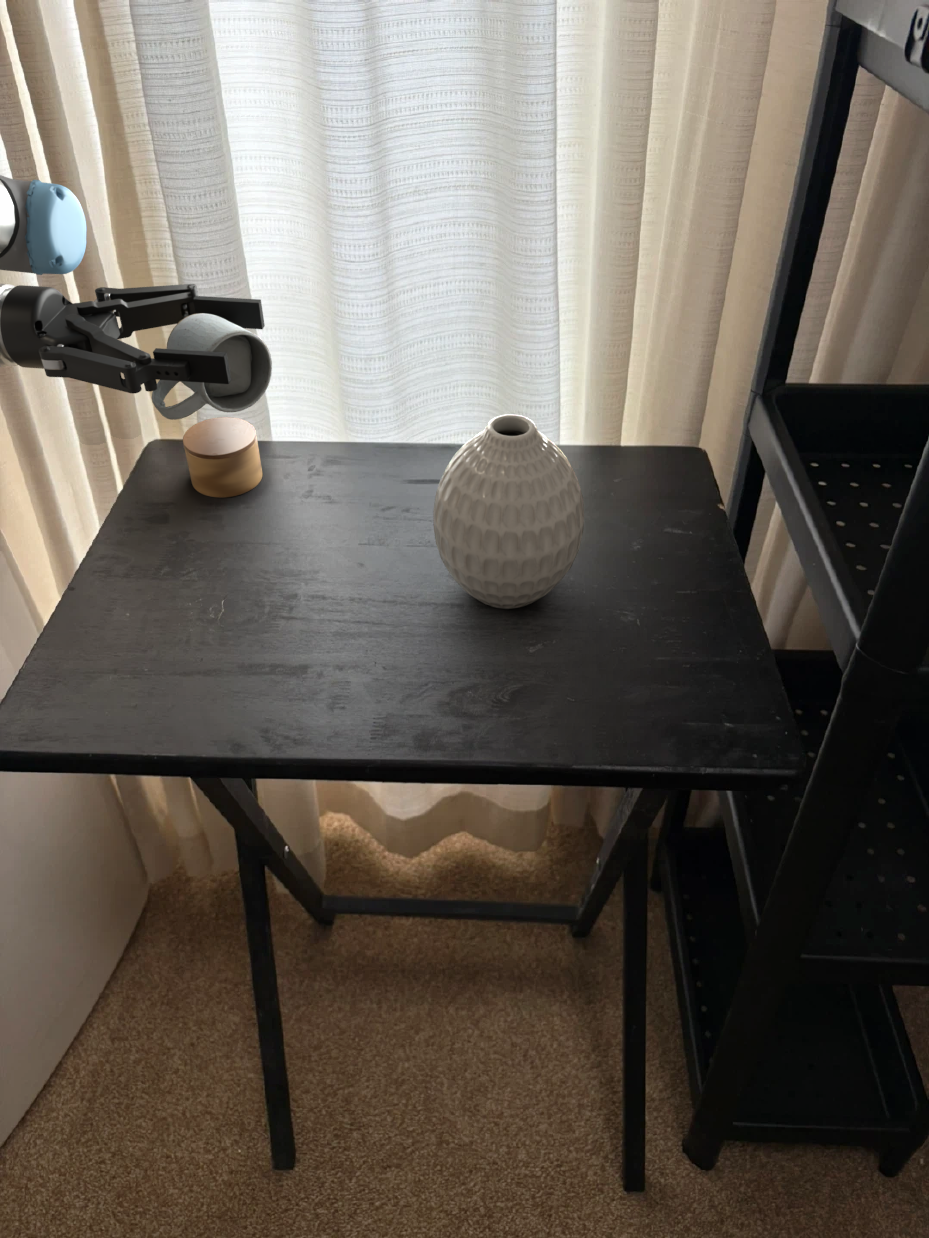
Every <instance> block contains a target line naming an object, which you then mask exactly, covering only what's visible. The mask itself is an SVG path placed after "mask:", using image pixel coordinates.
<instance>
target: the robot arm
mask: <svg viewBox="0 0 929 1238" xmlns="http://www.w3.org/2000/svg"><path fill="white" fill-rule="evenodd" d="M86 248H87V219H86V215H85V212H84V210H83V207H82V205H81V203H80V200H79V199H78V198H77V196H76V195H75V194H74V193H73V192H72V190H71V189H69V188H68V187H66V186H64V185H61V184H60V183H59V184H58V183H51V182H43V181H42V180H40V179H32V180H21V179H14V178H10V177H8V176H4V175H1V174H0V271H6V272H16V273H17V272H18V273H28V274H33V275H34V274H35V275H38V276H42V275H67V274H70V273H72V272H73V271H75V269H77V268H78V267H79V266H80V264H81V263H82V260H83V259H84V255H85V252H86ZM94 294H95V298H96V299H95V300H88V301H81V302H75V303H73V302H71V301H69V299H67V298H66V297H65V295H64V294H63V293H62V292H61V291H60V290H58V289H57V288H54V287H52V286H41V285H40V286H39V285H25V284H24V285H23V284H20V285H19V284H18V285H14V284H9V283H0V368H5V367H17V366H18V367H21V368H27V369H43V370H44V372H45V376H46V377H48V378H65V379H67V378H68V379H71V380H72V379H73V380H77V381H79V382H84V383H88V384H92V385H96V386H101V387H103V388H109V389H111V390H112V389H113V390H116V391H120V392H124V393H128V394H138V393H140V392H141V391H142V390H143V388H142V385H143V386H144V390H145V392H153V391H155V390H156V389H157V388H158V387H157V383H158V381H159V380H171V381H186V382H201V383H216V384H229V383H230V382H231V375H230V369H229V363H228V358H227V353H224V352H208V351H193V350H177V349H166V348H159V347H155V348H154V350H153V351H152V355H153V357H151V354H150V353H149V352H147V351H144V350H142V349H140V348H137V347H136V346H133V345H131V344H128V343H127V342H124V341H122V339H126V338H130V337H131V336H132V335H133V333H134V332H138V331H143V330H144V331H145V330H149V329H150V330H151V329H155V328H161V327H166V326H167V327H168V326H172V325H177V324H178V323H179V321H181V320H182V319H184V318H185V317H187V316H190V315H193V314H199V313H205V314H212V315H216V316H219V317H221V318H224V319H226V320H227V321H229V322H231V323H233V324H236V325H238V326H240V327H242V328H244V329H246V330H249V329H250V330H263V329H264V328H265V325H266V324H265V319H264V312H263V306H262V305H263V304H262V299H259V298H240V297H224V296H223V297H222V296H206V295H199V290H198V285H197V284H195V283H184V284H182V283H181V284H172V285H171V284H170V285H169V284H167V285H155V286H153V285H152V286H140V287H139V286H137V287H123V288H117V287H107V286H106V287H105V286H104V287H103V286H100V287H97V288H95V290H94ZM118 318H119V322H120V325H119V322H118ZM122 374H123V377H122ZM157 380H158V381H157Z"/></svg>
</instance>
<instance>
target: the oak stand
mask: <svg viewBox="0 0 929 1238" xmlns="http://www.w3.org/2000/svg"><path fill="white" fill-rule="evenodd" d="M182 443H183V448H184V453H185V459H186V462H187V463H186V464H187V468H188V471H189V477H190V480H191V484H192V487H193V488H194V489H195V491H197V492H198V493H200V494H201V495H204V496H207V497H212V498H231V497H236V496H240V495H243V494H245V493H247V492H250V491H251V490H253V489H255V487H257V486H258V485H259V484H260V482H261V481H262V478H263V468H262V461H261V454H260V448H259V442H258V437H257V430H256V428H255V426H254V425H253V424H252V423H250V421H248V420H246V419H242V418H239V417H235V416H234V417H233V416H218V417H211V418H207V419H204V420H202V421H199V422H196V423H195V424H193V425H191V426H190V427H189V428H188V429H187V430H186V431H185V433H184V434H183V437H182Z"/></svg>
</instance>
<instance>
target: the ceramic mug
mask: <svg viewBox="0 0 929 1238" xmlns="http://www.w3.org/2000/svg"><path fill="white" fill-rule="evenodd" d="M166 341H167V342H166V348H165V349H177V350H193V351H208V352H224V353H227V358H228V363H229V369H230V375H231V382H230V383H229V384H216V383H201V382H186V381H171V380H158V381H157V387H158V388H157V389H156V390H155V391H151V392H152V393H151V401H152V405H153V406H154V408H155V409H156V410H157V411H158V413H160V415H161V417H164V418H165V419H167V420H170V421H171V420H172V421H173V420H175V421H177V420H181V419H185V418H188V417H190V416H192V414H194V413H196V412H198V411H199V410H200V409H202V408H203V407H204V406H205V405H209V406H210V407H211V408H213V409H216V410H217V411H219V412H223V413H238V412H241V411H245V410H246V409H249V408H251V407H252V406H255V404H256V403H258V401H260V399H261V398H262V397H263V395H264V394H265V393H266V391H267V389H268V387H269V385H270V382H271V378H272V375H273V374H272V373H273V361H272V356H271V352H270V349H269V347H268V346H267V344H266V343H265V341H264V340H263V339H262V338H261V337H260V336H259V335H258V334H256V333H255V332H252V331H250V330H249V329H247V328H242V327H240V326H238V325H236V324H233V323H231V322H229V321H227V320H226V319H224V318H221V317H219V316H216V315H212V314H205V313H199V314H193V315H190V316H187V317H185V318H184V319H182V320H181V321H179V323H178V324H175V326H174V327H173V328H172V330H171V331H170V333H169V335H168V338H167V340H166ZM178 383H181V384H183V385H184V386H185V387H187V388H188V389H189V390H191V391H192V392H193V394H192V395H190V396H187V398H185V399H183V400H182V401H180V402H178V403H176V404H175V403H174V404H173V405H170V406H166V402H165V399H166V397H167V396H168V394H169V393H170V392H171V391H172V389H173V388H175V387H176V386H177V384H178Z"/></svg>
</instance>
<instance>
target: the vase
mask: <svg viewBox="0 0 929 1238" xmlns="http://www.w3.org/2000/svg"><path fill="white" fill-rule="evenodd" d="M434 497H435V498H434V502H433V503H434V504H433V511H432V517H433V520H432V521H433V535H434V540H435V545H436V547H437V550H438V553H439V556H440V559H441V562H442V563H443V564H444V567H445V568H446V569H447V571H448V573H449V574H450V575H451V577H452V579H453V580H454V581H455V582H456V583H457V584H458V585H459V587H460V588H461V589H462V590H463V591H464V592H465V593H467V594H468V595H469V596H471V597H473V599H475V600H477V601H479V602H481V603H482V604H485V605H487V606H489V607H491V608H496V609H502V610H514V609H518V608H523V607H525V606H529V605H530V604H532V603H534V602H536V601H538V600H539V599H542V598H543V597H545V596H546V595H547V594H549V593H550V592H551V591H552V590H554V588H555V587H556V586H557V585H559V583H560V582H561V581H562V580H563V579H564V578H565V576H566V575H567V573H568V572H569V571H570V570H571V567H572V566H573V564H574V562H575V561H576V558H577V555H578V554H579V552H580V549H581V548H580V547H581V544H582V538H583V534H584V527H585V504H584V496H583V492H582V489H581V485H580V482H579V479H578V476H577V475H576V472H575V470H574V468H573V466H572V465H571V463H570V461H569V460H568V458H567V456H566V455H565V453H564V452H563V451H562V450H561V448H559V446H558V445H556V443H554V442H553V441H552V440H551V439H550V438H549V437H548V436H546V435H545V434H544V433H542V432H540V431H539V430H538V427H537V425H536V424H535V422H534V421H533V420H532V419H530V418H528V417H526V416H523V415H520V414H511V413H509V414H502V415H498V416H495V417H493V418H492V419H490V420H489V421H488V423H487V424H486V426H485V428H484V429H483V430H481V431H479V432H478V433H477V434H475V435H474V436H472V437H471V438H469V440H467V441H466V442H465V443H464V444H463V445H462V446H461V447H460V448H459V449H458V450H457V451H456V453H455V454H454V455H453V456H452V458H451V460H450V461H449V462H448V464H447V465H446V468H445V469H444V471H443V473H442V476H441V478H440V480H439V483H438V485H437V489H436V491H435V496H434Z"/></svg>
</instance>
